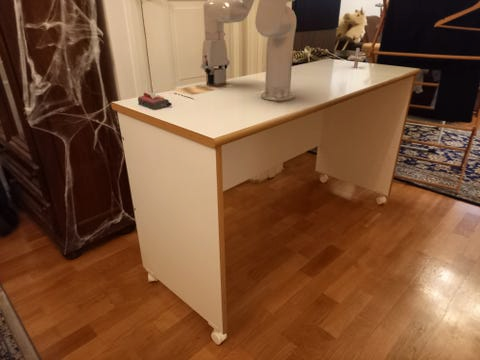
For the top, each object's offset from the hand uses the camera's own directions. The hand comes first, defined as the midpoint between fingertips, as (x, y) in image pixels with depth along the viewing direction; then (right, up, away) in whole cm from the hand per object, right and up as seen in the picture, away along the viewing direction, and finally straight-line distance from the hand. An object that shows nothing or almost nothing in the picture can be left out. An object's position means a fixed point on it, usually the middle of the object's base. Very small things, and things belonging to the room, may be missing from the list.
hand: (216, 82), depth 147 cm
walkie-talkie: (-23, -13, -18) cm, 32 cm away
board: (-5, -4, -3) cm, 7 cm away
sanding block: (0, -1, +1) cm, 1 cm away
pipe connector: (+72, +19, +42) cm, 86 cm away
